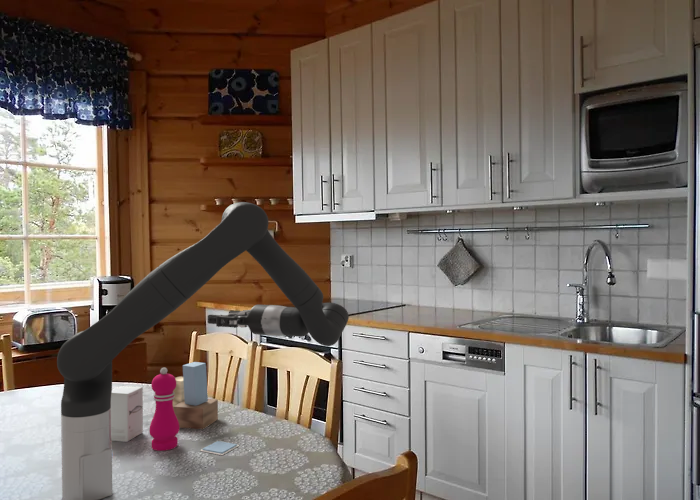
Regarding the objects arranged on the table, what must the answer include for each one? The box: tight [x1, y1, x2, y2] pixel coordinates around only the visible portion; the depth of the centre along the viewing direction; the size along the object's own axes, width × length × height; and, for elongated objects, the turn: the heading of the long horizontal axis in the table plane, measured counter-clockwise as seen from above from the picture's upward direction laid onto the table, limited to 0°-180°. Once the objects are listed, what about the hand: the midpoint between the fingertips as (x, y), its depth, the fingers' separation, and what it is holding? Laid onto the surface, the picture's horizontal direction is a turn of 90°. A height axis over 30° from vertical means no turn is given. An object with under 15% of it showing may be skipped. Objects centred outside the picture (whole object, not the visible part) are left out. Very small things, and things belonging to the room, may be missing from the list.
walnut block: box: [173, 398, 219, 430], centre depth 161 cm, size 9×9×6 cm
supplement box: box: [111, 385, 144, 443], centre depth 150 cm, size 7×7×13 cm
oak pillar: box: [173, 376, 185, 406], centre depth 168 cm, size 4×4×11 cm
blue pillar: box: [182, 361, 209, 406], centre depth 160 cm, size 4×4×11 cm
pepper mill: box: [149, 367, 180, 452], centre depth 142 cm, size 7×7×20 cm
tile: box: [199, 440, 240, 456], centre depth 141 cm, size 7×7×1 cm
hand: (219, 316), depth 147 cm, fingers open, 8 cm apart
